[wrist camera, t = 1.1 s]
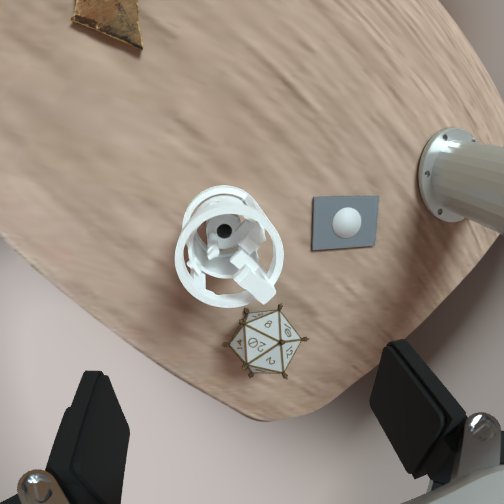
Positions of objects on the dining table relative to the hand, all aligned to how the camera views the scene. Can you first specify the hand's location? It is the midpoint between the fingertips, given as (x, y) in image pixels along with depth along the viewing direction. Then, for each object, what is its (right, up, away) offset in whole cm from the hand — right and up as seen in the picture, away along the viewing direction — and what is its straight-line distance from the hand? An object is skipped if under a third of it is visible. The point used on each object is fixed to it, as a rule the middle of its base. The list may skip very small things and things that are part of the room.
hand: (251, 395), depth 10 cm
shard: (-14, +31, +15) cm, 37 cm away
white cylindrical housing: (-3, +9, +24) cm, 26 cm away
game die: (+1, -4, +30) cm, 30 cm away
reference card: (+11, +8, +26) cm, 29 cm away
